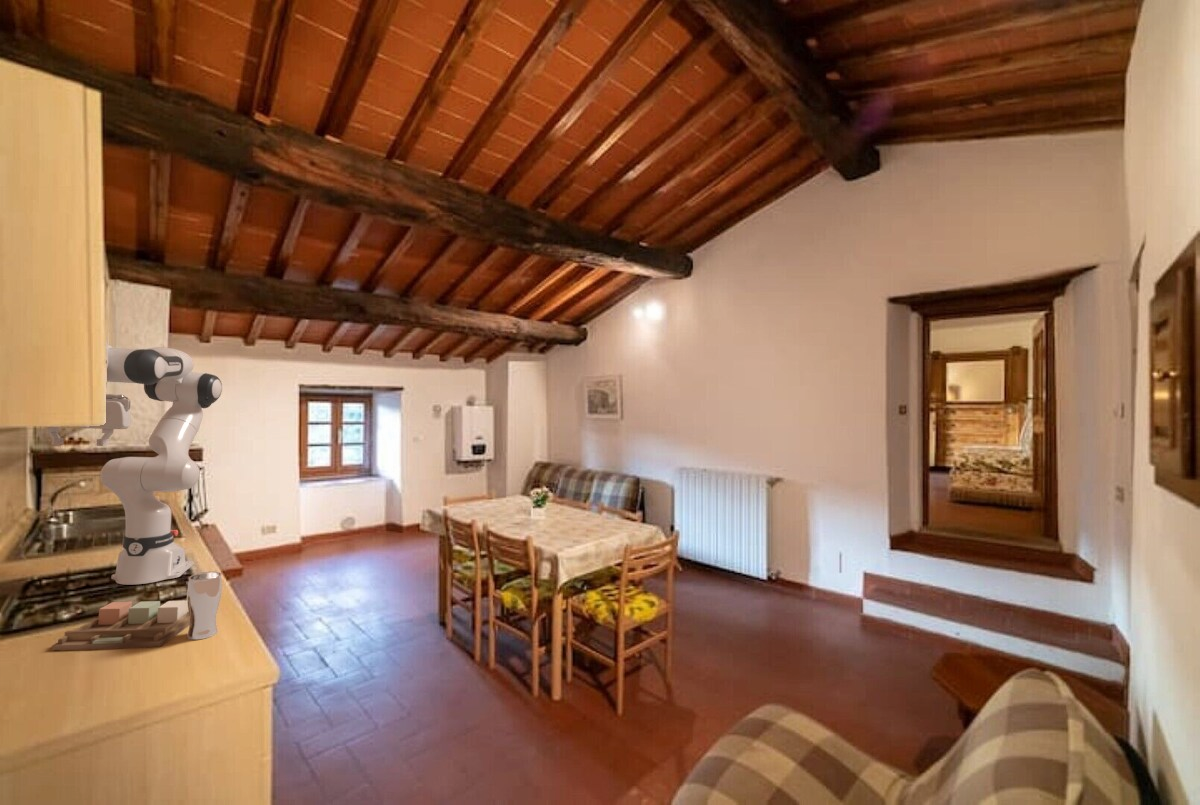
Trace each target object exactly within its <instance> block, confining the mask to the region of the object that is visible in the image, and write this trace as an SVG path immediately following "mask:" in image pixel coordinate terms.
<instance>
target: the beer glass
mask: <svg viewBox="0 0 1200 805" xmlns="http://www.w3.org/2000/svg"><path fill="white" fill-rule="evenodd" d="M222 585H223V584H222V572H220V571H204V572H198V573H195V574H192V575H190V576H189V577H188V584H187V593H186V601H187V605H188V610H187V612H189V617H190V625H189V626H188V627H189V628H188V632H187V635H186V638H187V640H190V641H191V640H192V641H196V640H197V641H198V640H205V639H209V638H212V637H213V636H215V635H216V634H217V633H218V628H217V626H218V625H217V614H218V610H219V606H220V603H221V602H220V601H221V598H222V587H223V586H222Z"/></svg>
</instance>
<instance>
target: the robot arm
mask: <svg viewBox="0 0 1200 805" xmlns="http://www.w3.org/2000/svg"><path fill="white" fill-rule="evenodd" d="M106 349H107V382H106V387H107V384H108V382H110V383H123V384H126V383H128V384H141V385H143V390H144V393H145V395H146V396H147V397H148V398H149V399H150V400H154V401H158V402H164V401H165V402H170V403H172V405H171V406H170V408H169V409H168V410H167V411H165V413H163V415H162V417H161V418H160V420H159V421H158V424H157V425H156V427H154V430H153V431H152V433H151V435H150V436H149V438H148V445H149V447H150V449H151V450H152V451H153V452H155V453H156V454H158V455H156V456H153V457H152V456H151V457H149V456H125V457H120V458H119V457H118V458H113V459H110V460H108V461H107V462H105V464H104V465H103V467H102V468H101V470H100V474H99V478H100V482H101V484H102V485H103V486H104V488H107V490H110V491H111V492H112V493H113V494H114V495H115V496H116V497H117V498H118V499H119V501H120V503H121V505H122V507H123V510H124V515H125V517H124V518H125V531H124V532H125V535H124V536H123V537H122V538H123V540H122V548H123V549H122V550H121V551H119V553H118V557H117V561H116V562H117V563H116V569H115V573H113V574H112V575H111V580H114V581H115V583H116V584H120V585H127V586H128V585H132V586H133V585H142V584H143V585H144V584H150V583H156V582H160V581H164V580H170V579H171V580H172V579H175V578H179V577H181V576H182V575H183V574H184V573H185V572H187V571H188V570H189V569H190V568H191V567H192V566H193V565H194V563H195V562H194V561H193V560H188V559H186V550H185V548H184V547H182V546H180V545H179V544H178V543H176V542H175V540H174V537H177V536H178V535H179V530H177V529H172V528H171V526H172V509H171V508H170V506H169V505H168V504H167V503H165V502H162V501H161V500H159V499H158V498H157V497H156V495H155V493H154V492H161V493H162V492H164V493H165V492H170V493H171V492H179V491H185V490H189V489H192V488H193V487H194V486H195V485H196V484H197V482H198V481H199V479H200V467H199V466H198V464H197V463H196V462H195V461H194V460H193V459H191V457H190V455H189V452H190V448H191V445H192V444H193V441H194V439H195V437H196V435H197V433H198V431H199V429H200V426H201V424H202V420H203V416H204V411H203V409H208V408H209V407H210V406H212V404H214V403H215V402H216V401H218V400H219V398H220V397H221V395H222V392H223V384H222V381H221V379H220V378H219V377H218V376H217V375H214V374H211V373H207V372H205V373H202V372H195V371H194V372H193V369H194V360H193V358H192V357H191V356H190V355H189V353H186V352H185V351H182V350H179V349H176V348H171V347H165V346H164V347H161V346H159V347H150V348H145V349H144V348H141V349H138V348H136V349H135V348H123V347H121V348H120V347H113V346H112V345H109V344H108V340H107V338H106ZM130 409H131V399H129V398H128V397H127V396H125V395H123V394H111V393H109V394H108V393H106V423H105V424H104V425H100V426H89V427H80V428H79V429H95V430H96V429H101V433H102V434H103V435H102V436H101V438H97V439H96V444H95V445H96V447H106V446H108V440H109V439H110V438H111V437H112V435H113V434H114V430H127V429H128V428H129V427H130V426H131V425H132V424H131V422H132V420H131V411H130ZM61 428H66V429H67V428H68V429H74V428H73V427H46V433H47V434H48V436H49V437H50V438H51V445H52V446H63V445H64V443H65V442H64V441H65V438H64V437H61V436H60V435H59V433H58V432H60V429H61Z"/></svg>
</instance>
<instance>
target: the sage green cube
mask: <svg viewBox="0 0 1200 805" xmlns="http://www.w3.org/2000/svg"><path fill="white" fill-rule="evenodd" d="M160 606H161V600H149V601H148V600H147V601H139V602H138V603H137V602H136V604H135V605H132V607H130V608H129V615H128V624H144V623H146V622H147V621H149V620H150V619H152V618H154V617H155V616H157V615H158V607H160Z"/></svg>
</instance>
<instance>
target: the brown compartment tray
mask: <svg viewBox="0 0 1200 805" xmlns="http://www.w3.org/2000/svg"><path fill="white" fill-rule="evenodd" d="M157 617H158V615H157V616H155V617H154V618H152V619H150V620H149V621H147V622H146V623H144V624H128V617H126V618H124V619H123V620H121V621H119V622H117V623H116V624H111V625H98V621H99V616H98V617H96V618H94V619H93V620H91V621H89V622H88V623H85V624H83V625H82V626H80V627H78V628H77V629H75V630H66V631H65V632H64V635H63V636H61V637H59V638H58V640H57V642H56V643H54V644H52V645H51V649H50V650H51V652H55V651H54V650H60V651H79V650H80V651H82V650H86V651H87V650H110V649H129V648H130V649H137V648H161V647H162V646H163V645H165V644H166V643H168V642H169V641H170V640H171V639H173V638H174V637H176V636H177V635H178V634H179V633H181V632H182V631H183V630H185V629H186V628H187V627H189V626H190V617H189V611H187V614H185V615H184V616H182V617H181V618H180V619H178V620H177V621H175V622H174V623H157Z"/></svg>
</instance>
